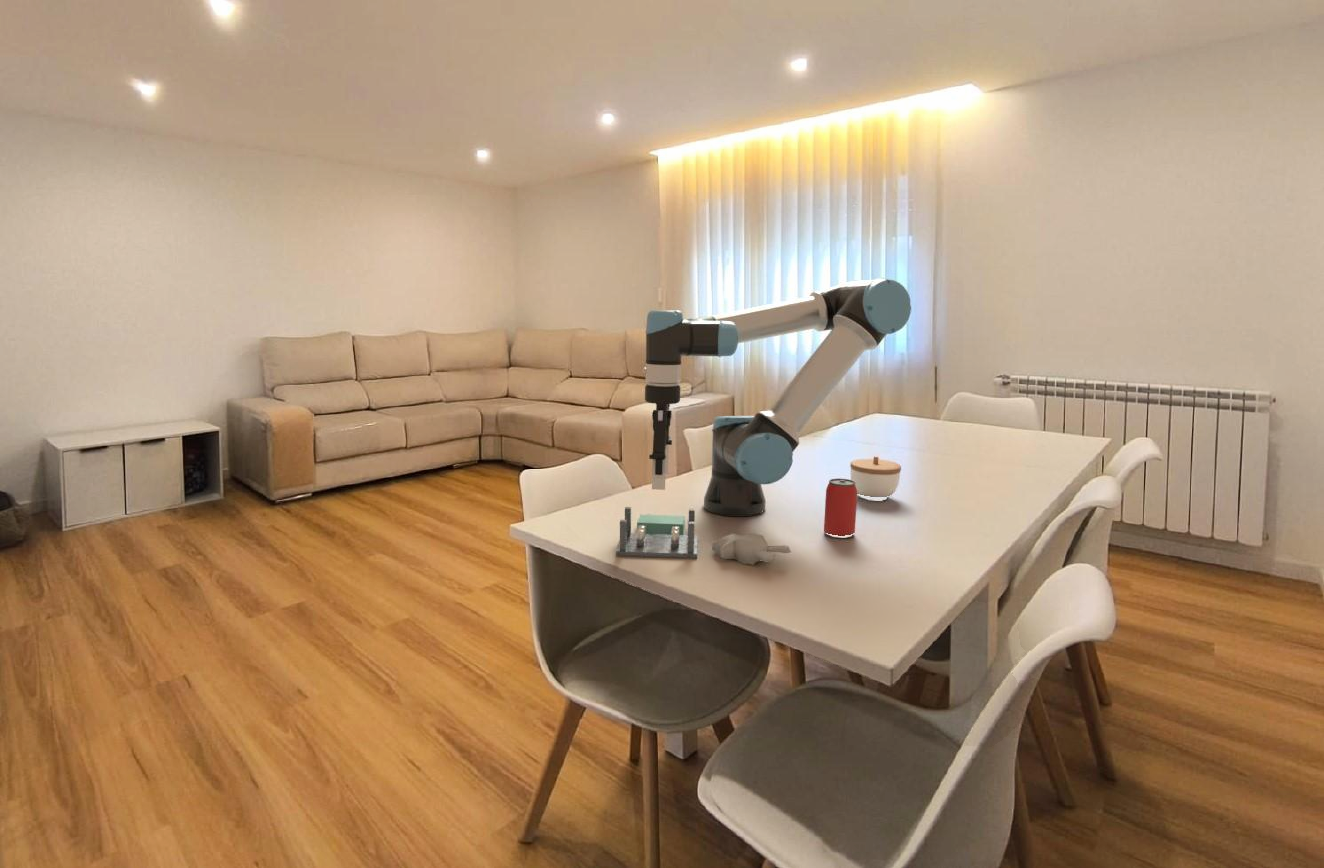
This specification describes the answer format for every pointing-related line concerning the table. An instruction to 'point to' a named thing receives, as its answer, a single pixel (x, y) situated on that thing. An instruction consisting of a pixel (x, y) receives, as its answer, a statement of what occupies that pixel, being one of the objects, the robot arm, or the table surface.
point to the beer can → (840, 507)
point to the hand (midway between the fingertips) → (660, 481)
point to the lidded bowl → (875, 476)
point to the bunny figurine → (747, 548)
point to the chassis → (656, 541)
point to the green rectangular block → (661, 523)
